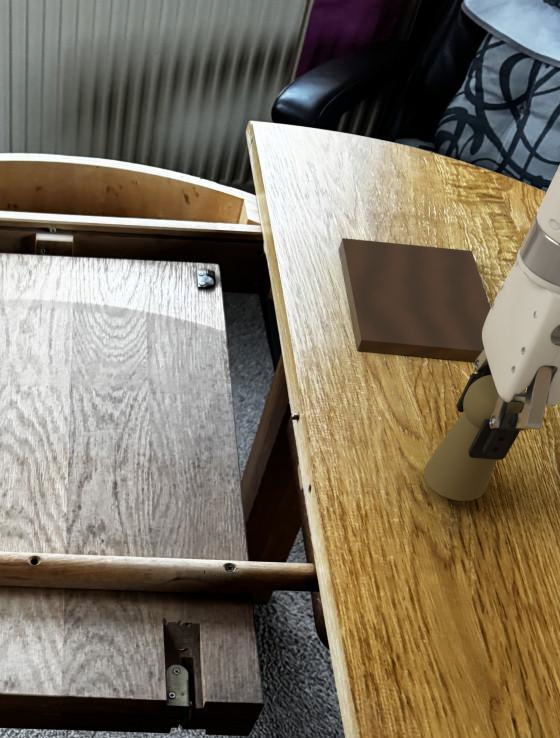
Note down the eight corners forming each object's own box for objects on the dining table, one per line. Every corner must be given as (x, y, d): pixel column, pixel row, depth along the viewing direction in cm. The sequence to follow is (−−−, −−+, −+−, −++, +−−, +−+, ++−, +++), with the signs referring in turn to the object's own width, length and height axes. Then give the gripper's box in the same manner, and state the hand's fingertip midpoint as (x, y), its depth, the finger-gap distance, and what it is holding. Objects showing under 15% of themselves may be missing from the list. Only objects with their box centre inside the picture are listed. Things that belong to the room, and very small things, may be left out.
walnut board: (467, 261, 114) (472, 250, 113) (500, 364, 103) (506, 353, 101) (338, 249, 114) (342, 237, 113) (357, 351, 102) (361, 339, 101)
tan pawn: (418, 489, 88) (463, 398, 79) (428, 448, 91) (473, 357, 82) (482, 508, 87) (535, 418, 78) (490, 466, 90) (542, 375, 81)
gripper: (659, 325, 65) (540, 505, 80) (595, 193, 75) (500, 375, 89) (552, 317, 65) (453, 498, 80) (502, 185, 74) (423, 369, 89)
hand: (479, 431), depth 84 cm, fingers closed on tan pawn, 5 cm apart
